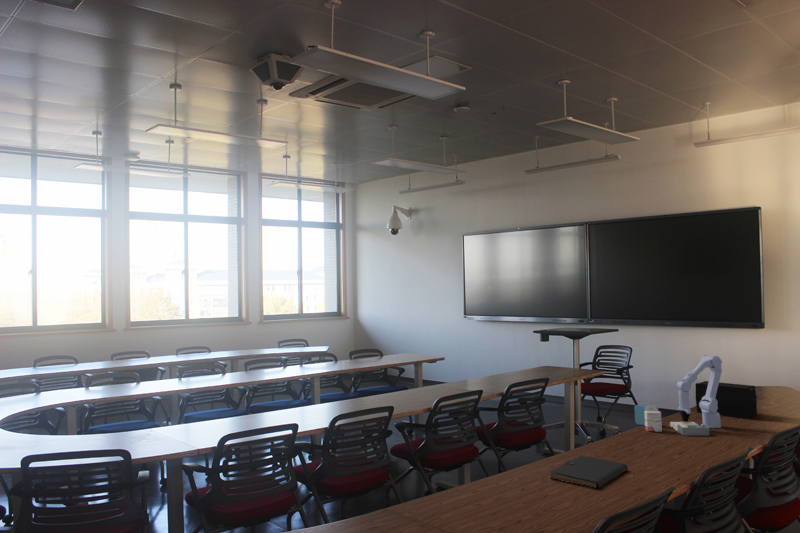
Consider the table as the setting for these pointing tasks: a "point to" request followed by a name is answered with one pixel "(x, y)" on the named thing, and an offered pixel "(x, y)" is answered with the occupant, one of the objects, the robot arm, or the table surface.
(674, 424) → the ledge board
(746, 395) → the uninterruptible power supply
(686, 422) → the terracotta tile
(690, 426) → the green tile
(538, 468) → the table surface
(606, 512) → the table surface
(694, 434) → the bin
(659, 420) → the ink cartridge box
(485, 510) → the table surface
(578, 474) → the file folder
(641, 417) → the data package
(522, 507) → the table surface
